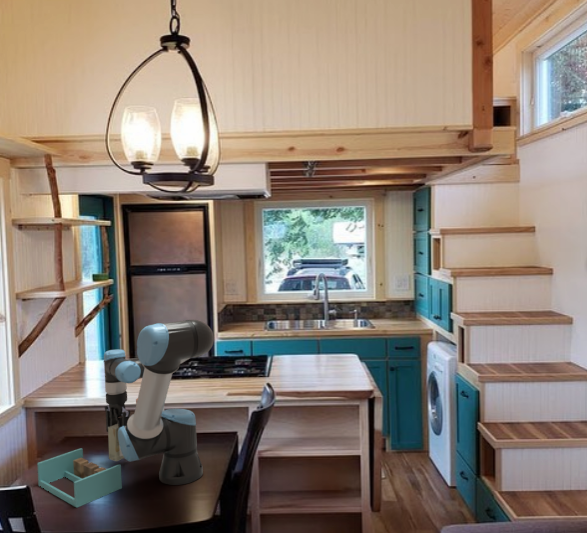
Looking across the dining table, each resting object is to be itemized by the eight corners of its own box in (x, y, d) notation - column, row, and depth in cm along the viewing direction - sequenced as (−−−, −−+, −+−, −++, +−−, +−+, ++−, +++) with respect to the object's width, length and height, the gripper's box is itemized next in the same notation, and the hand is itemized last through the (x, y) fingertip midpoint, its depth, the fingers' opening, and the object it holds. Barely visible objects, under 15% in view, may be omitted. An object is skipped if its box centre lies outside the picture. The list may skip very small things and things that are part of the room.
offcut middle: (99, 482, 180) (98, 465, 180) (91, 485, 178) (90, 468, 178) (92, 478, 183) (91, 462, 183) (84, 481, 181) (83, 465, 181)
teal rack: (121, 488, 175) (120, 465, 175) (76, 507, 163) (75, 482, 163) (82, 469, 192) (81, 448, 191) (38, 485, 179) (37, 463, 179)
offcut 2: (110, 487, 176) (109, 470, 176) (102, 491, 174) (101, 473, 173) (102, 484, 179) (102, 466, 179) (94, 487, 177) (93, 470, 176)
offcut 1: (89, 477, 185) (88, 460, 185) (81, 480, 182) (80, 463, 182) (82, 473, 188) (81, 457, 188) (74, 476, 186) (73, 460, 185)
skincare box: (116, 462, 190) (115, 429, 189) (108, 459, 192) (107, 427, 191) (130, 455, 195) (128, 423, 195) (122, 453, 198) (120, 421, 197)
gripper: (139, 393, 190) (141, 455, 191) (112, 385, 201) (115, 444, 202) (120, 398, 184) (123, 462, 185) (94, 390, 195) (97, 451, 196)
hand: (119, 453), depth 194 cm, fingers closed on skincare box, 5 cm apart
